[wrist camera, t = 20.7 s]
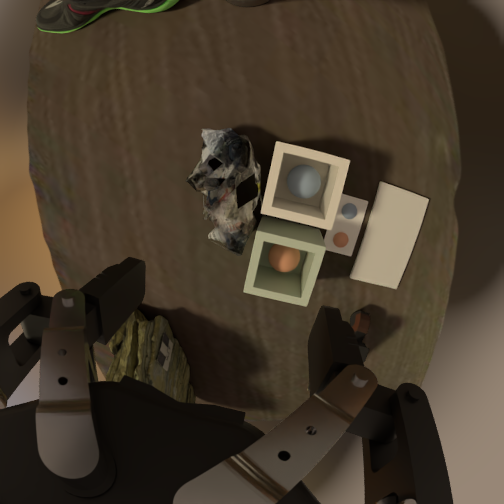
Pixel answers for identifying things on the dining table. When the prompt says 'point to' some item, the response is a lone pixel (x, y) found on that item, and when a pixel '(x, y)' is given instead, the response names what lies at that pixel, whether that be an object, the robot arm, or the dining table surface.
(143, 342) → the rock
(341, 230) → the card
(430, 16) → the dining table surface
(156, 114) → the dining table surface
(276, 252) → the terracotta ball
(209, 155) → the foil
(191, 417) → the robot arm
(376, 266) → the felt mat
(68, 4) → the running shoe
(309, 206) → the cream cup
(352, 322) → the toy gun
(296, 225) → the sage cup
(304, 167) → the blue ball
